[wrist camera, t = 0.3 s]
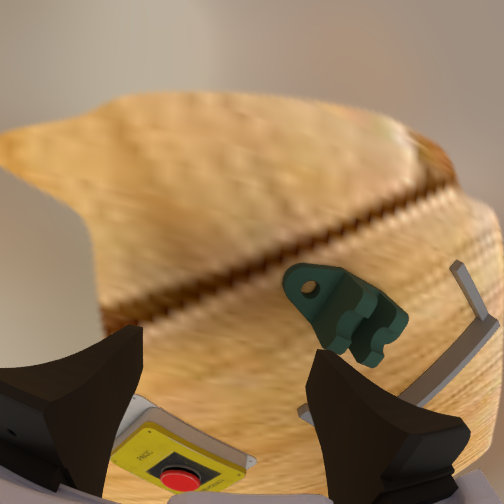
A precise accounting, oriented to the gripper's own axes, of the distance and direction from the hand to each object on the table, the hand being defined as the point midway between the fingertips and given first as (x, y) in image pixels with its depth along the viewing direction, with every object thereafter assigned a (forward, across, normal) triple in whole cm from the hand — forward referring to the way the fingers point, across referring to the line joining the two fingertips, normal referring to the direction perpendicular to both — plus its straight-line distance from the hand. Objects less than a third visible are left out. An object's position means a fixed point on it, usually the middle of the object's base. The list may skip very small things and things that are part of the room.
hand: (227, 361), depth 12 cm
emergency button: (+10, +3, +19) cm, 22 cm away
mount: (+10, -9, +1) cm, 13 cm away
